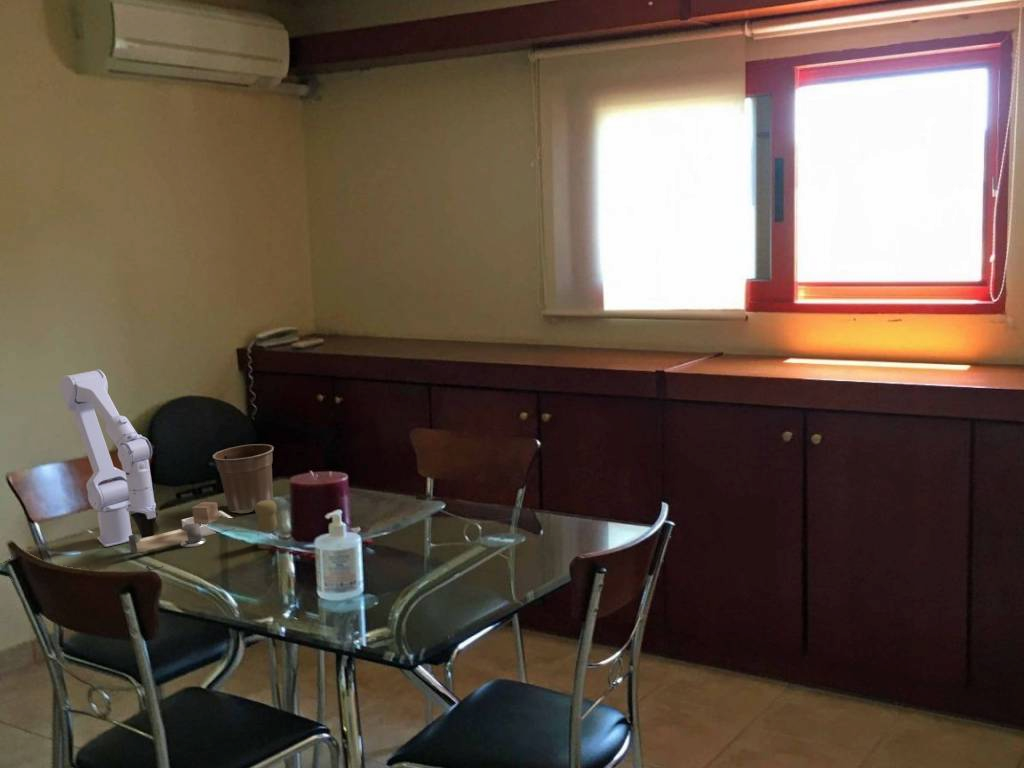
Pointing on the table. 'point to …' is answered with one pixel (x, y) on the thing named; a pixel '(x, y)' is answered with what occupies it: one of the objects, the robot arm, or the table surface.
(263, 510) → the cork
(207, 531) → the tray
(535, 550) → the table surface
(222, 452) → the plant pot
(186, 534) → the crank
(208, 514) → the block
